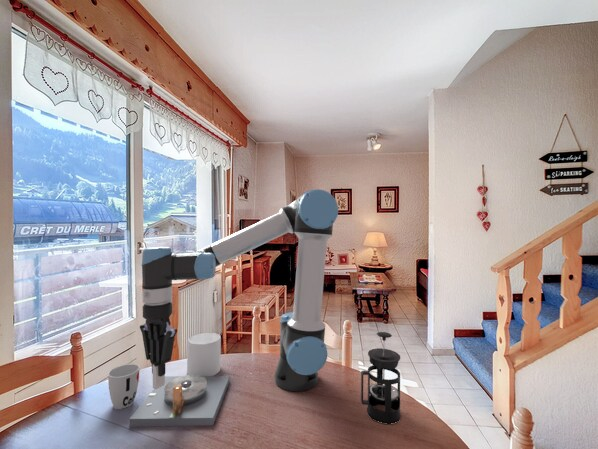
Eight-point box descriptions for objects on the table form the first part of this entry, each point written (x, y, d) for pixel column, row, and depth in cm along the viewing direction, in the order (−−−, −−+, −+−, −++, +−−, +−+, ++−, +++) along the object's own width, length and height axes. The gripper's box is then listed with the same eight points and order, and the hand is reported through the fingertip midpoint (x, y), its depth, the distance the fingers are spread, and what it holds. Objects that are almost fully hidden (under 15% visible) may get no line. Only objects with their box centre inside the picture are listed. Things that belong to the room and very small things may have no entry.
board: (229, 381, 100) (229, 375, 100) (213, 425, 78) (213, 417, 78) (164, 382, 99) (164, 375, 99) (129, 426, 77) (129, 418, 77)
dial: (171, 383, 94) (171, 363, 94) (209, 381, 95) (210, 361, 95) (152, 415, 78) (152, 391, 78) (199, 412, 79) (199, 388, 79)
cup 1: (124, 414, 82) (125, 378, 82) (100, 410, 84) (100, 375, 84) (145, 397, 90) (145, 365, 90) (122, 394, 92) (123, 362, 92)
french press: (397, 404, 88) (397, 328, 88) (408, 425, 79) (408, 339, 79) (358, 403, 88) (358, 327, 89) (364, 424, 79) (365, 339, 79)
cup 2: (207, 360, 116) (207, 330, 116) (227, 369, 109) (227, 337, 109) (180, 372, 106) (180, 339, 106) (199, 382, 99) (200, 347, 99)
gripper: (130, 302, 81) (131, 387, 81) (161, 308, 75) (162, 399, 75) (154, 296, 88) (155, 374, 88) (184, 301, 82) (186, 385, 82)
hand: (158, 386), depth 82 cm, fingers closed
